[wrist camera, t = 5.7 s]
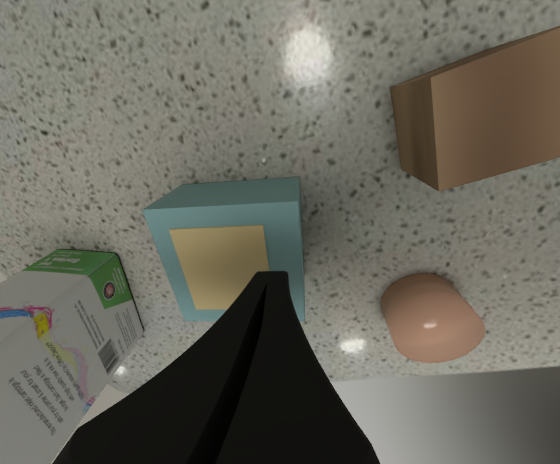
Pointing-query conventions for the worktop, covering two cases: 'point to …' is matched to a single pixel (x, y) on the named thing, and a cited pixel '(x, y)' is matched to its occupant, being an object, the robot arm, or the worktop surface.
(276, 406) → the robot arm
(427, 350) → the peach rounded dome
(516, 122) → the walnut cube
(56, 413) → the ink box
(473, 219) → the worktop surface
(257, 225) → the teal block
